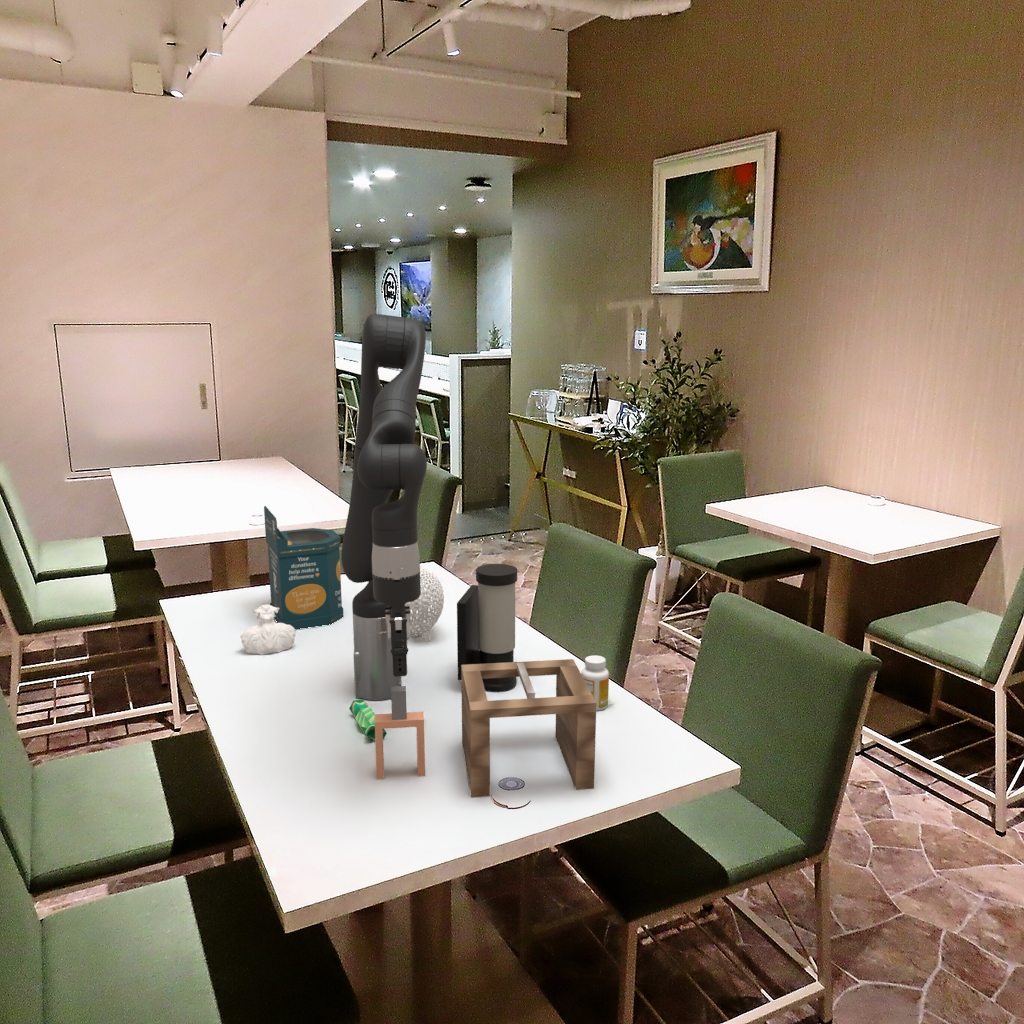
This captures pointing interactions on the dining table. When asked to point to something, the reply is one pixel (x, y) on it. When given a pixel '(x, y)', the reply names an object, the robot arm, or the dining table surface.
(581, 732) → the wooden frame stand
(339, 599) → the donation box
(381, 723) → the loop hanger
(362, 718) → the candy
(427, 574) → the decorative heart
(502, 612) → the light fixture
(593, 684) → the supplement bottle
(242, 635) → the bust
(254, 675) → the dining table surface
